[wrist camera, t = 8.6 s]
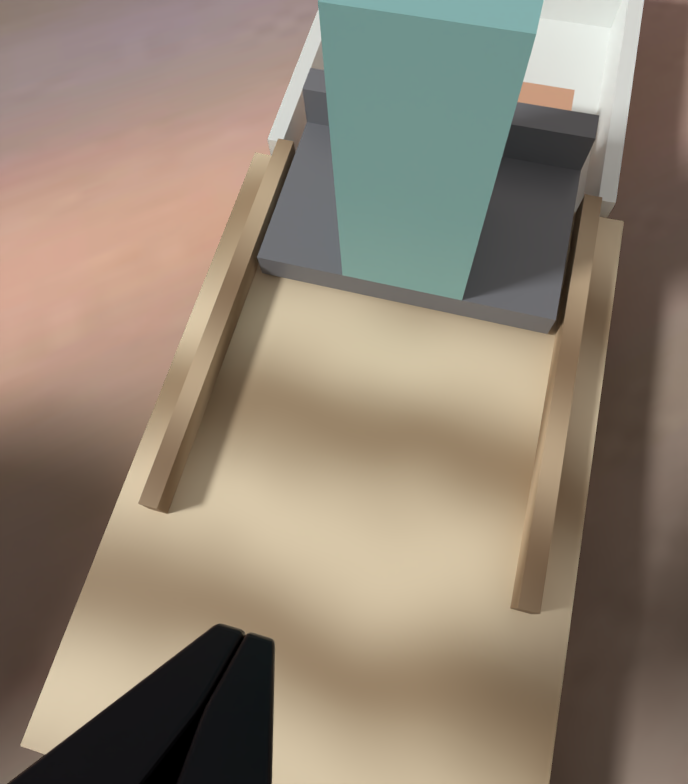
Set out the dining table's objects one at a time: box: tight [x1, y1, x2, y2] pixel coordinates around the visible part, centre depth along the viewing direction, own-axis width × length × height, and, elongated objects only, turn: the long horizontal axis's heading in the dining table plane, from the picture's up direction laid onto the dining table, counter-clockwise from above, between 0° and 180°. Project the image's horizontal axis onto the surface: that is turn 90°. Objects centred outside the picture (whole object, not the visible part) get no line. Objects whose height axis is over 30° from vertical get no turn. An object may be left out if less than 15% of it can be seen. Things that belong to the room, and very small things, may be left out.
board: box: [20, 138, 624, 784], centre depth 20 cm, size 21×14×4 cm, turn 165°
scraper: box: [257, 0, 599, 334], centre depth 17 cm, size 7×10×10 cm
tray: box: [268, 0, 644, 218], centre depth 25 cm, size 12×13×4 cm
